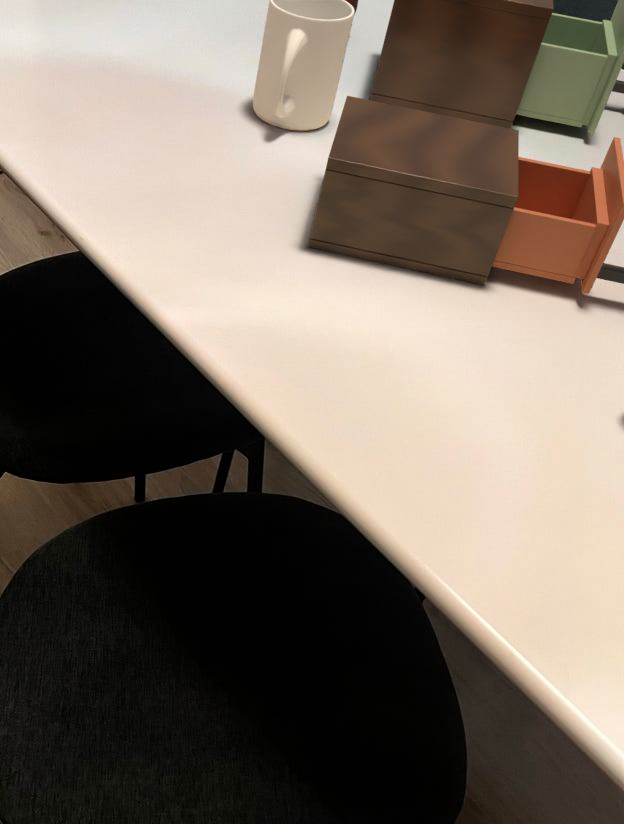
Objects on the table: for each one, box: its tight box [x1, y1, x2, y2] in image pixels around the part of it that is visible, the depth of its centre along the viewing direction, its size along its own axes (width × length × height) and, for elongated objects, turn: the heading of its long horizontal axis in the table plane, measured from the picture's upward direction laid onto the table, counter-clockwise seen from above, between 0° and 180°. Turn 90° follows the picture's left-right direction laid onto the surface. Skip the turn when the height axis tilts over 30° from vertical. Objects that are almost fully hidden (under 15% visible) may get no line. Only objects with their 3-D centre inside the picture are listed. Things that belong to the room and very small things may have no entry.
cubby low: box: [307, 95, 520, 286], centre depth 92 cm, size 16×14×8 cm
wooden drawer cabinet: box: [368, 0, 554, 129], centre depth 114 cm, size 16×14×12 cm
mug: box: [252, 0, 356, 132], centre depth 105 cm, size 9×12×11 cm
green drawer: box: [516, 0, 624, 135], centre depth 112 cm, size 22×14×11 cm, turn 76°
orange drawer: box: [491, 136, 624, 295], centre depth 90 cm, size 22×14×9 cm, turn 76°
